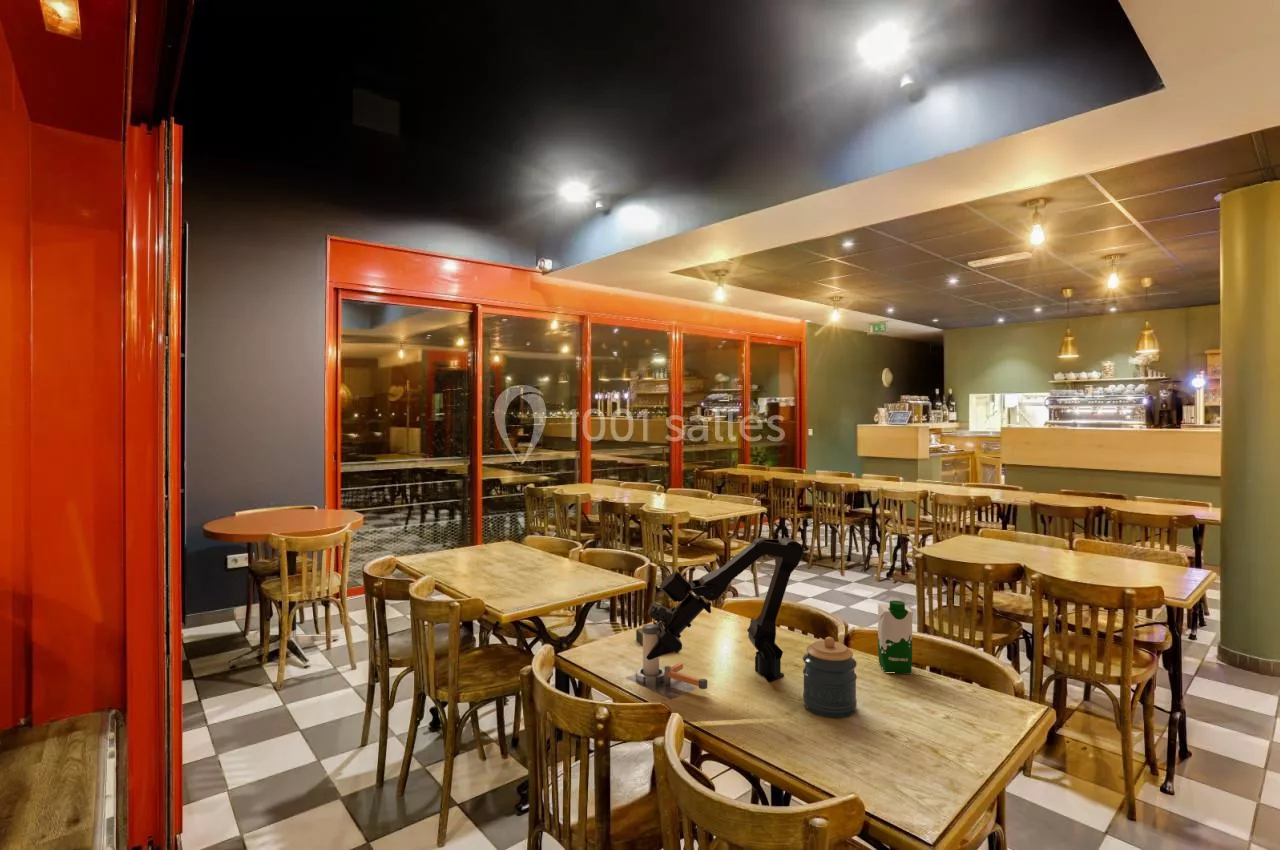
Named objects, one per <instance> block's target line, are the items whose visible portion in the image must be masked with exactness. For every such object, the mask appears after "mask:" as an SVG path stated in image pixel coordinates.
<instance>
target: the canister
mask: <svg viewBox="0 0 1280 850" xmlns="http://www.w3.org/2000/svg"><path fill="white" fill-rule="evenodd" d="M805 650H806V653H805V654H804V655H803V656H802V661H803V662H804V665H805V666H804V667H803V670H802V674H803V694H802V700H803V705H804V707H805V708H806V709H807V710H808V711H810V712H811V713H813V714H816V715H818V716H821V717H826V718H836V719H839V718H841V719H842V718H847V717H849V716H852V715H854V714H855V712H856V709H857V704H858V703H857V702H858V701H857V678H858V677H857V673H856V672H855V669H856V668H857V665H858V662H857V660H856V659H855V658H854V657H853V656H854V652H853V651H852V649H851V648H849V647H847V646H846V644H843V643H841V642H839V641H835V639H834V638H833V637H832V636H827V637H825V639H824V640H817V641H814V642H812V644H809V645H807V647H806V649H805Z"/></svg>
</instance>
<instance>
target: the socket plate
mask: <svg viewBox="0 0 1280 850" xmlns="http://www.w3.org/2000/svg"><path fill="white" fill-rule="evenodd" d="M625 678H626V679H628V680H630V681H632V682H634V683H636V684H638V685H641V686H642V687H645V688H646V689H649V690H650V691H653V692H655V693H657V694H659V695H661V696H663V697H666V698H667V699H670V700H673V699H675V698H677V697H679V696H682V695H684V694H687V693H690V692H692V691H694V690H697V689H698V686H696V685H692V684H689V683H686V682H683V681H679V680H676V679H673V678H670V684H669V685H667V684H665V667H662V666H661V665H659V675H657V676H645V675H643V666H641V667H640V666H639V667H637V669H636V670H635V674H632V675H629V676H626V677H625Z"/></svg>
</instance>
